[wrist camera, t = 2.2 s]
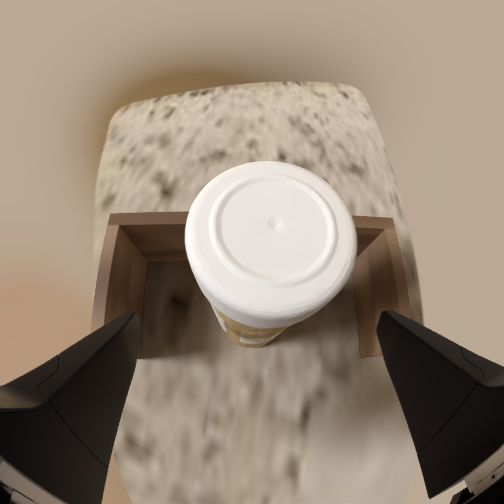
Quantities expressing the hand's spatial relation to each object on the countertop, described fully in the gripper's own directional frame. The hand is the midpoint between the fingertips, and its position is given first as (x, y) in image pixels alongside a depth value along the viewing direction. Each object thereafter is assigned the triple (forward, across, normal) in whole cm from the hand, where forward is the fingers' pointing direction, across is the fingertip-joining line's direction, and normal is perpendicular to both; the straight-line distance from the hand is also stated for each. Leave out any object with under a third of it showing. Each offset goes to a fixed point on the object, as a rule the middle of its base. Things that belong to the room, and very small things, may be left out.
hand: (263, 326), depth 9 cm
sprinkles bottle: (+8, 0, +6) cm, 10 cm away
